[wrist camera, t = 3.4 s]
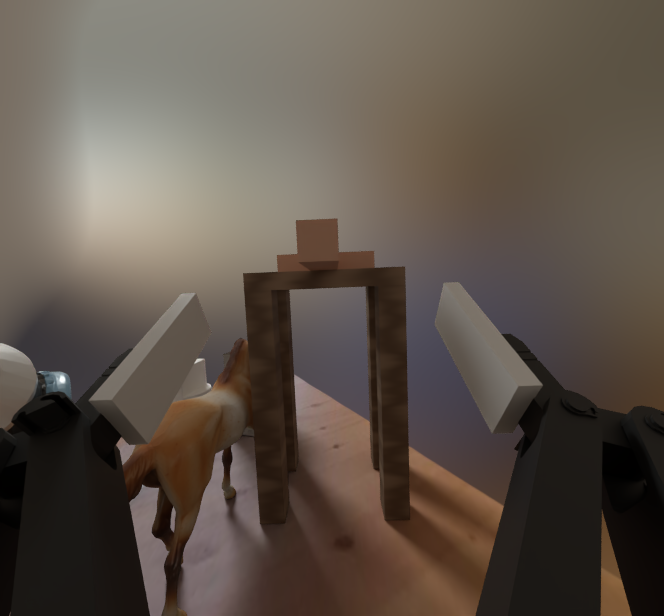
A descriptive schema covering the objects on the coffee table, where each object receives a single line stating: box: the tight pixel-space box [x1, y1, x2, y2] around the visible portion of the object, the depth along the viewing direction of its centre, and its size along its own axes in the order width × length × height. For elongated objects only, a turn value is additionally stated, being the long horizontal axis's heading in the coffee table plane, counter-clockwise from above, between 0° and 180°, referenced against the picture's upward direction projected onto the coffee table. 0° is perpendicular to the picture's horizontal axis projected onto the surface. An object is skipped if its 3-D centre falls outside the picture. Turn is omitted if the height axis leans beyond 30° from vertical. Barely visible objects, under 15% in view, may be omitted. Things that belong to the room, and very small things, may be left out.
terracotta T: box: [277, 219, 374, 272], centre depth 30 cm, size 14×22×3 cm, turn 0°
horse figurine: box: [122, 338, 254, 616], centre depth 30 cm, size 31×8×21 cm, turn 170°
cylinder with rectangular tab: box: [172, 359, 211, 403], centre depth 61 cm, size 9×9×12 cm
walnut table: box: [243, 267, 410, 524], centre depth 36 cm, size 18×12×30 cm, turn 90°
